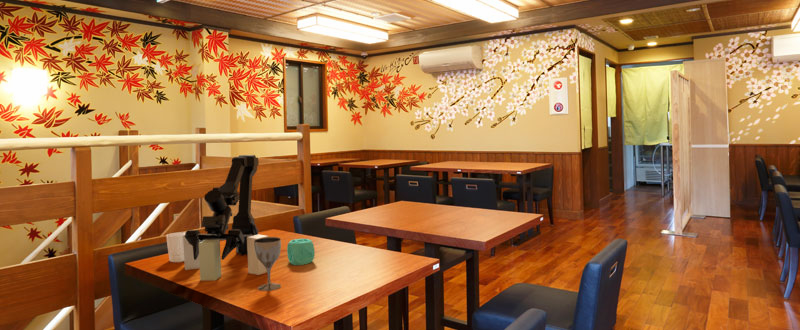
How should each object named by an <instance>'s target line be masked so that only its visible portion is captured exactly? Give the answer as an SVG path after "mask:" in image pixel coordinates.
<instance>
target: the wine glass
mask: <svg viewBox="0 0 800 330" xmlns="http://www.w3.org/2000/svg"><path fill="white" fill-rule="evenodd" d="M281 239H282V238H281V237H277V236H268V237H264V238H259V239H256V240H254V247H255V253H256V256H257V259H258V260H259V261H260V262H261V263H262V264H263V265H264V266H265V268H266V270H267V272H266V275H267V283H263V284H261V285H259V286H257V290H258V291H263V292H269V291H275V290H278V289H280V288H282V285H281V284H279V283H273V282H272V281H271V271H272V268H273V266H274V264H275V263H276V261H277V260H278V259H279V257H280V255H281V250H282V249H281V248H282V240H281Z"/></svg>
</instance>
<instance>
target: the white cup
mask: <svg viewBox="0 0 800 330" xmlns="http://www.w3.org/2000/svg"><path fill="white" fill-rule="evenodd" d="M183 232H184V231H181V232H180V231H178V232H171V233H169V234H168V233H167V234H166V237H165V238H166V244H167V253H168V260H169V262H170V263H181V262H184V243H183Z"/></svg>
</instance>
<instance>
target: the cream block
mask: <svg viewBox="0 0 800 330" xmlns="http://www.w3.org/2000/svg"><path fill="white" fill-rule="evenodd" d="M264 237H269V235H267V234H266V235H264V234H259V233H258V235H254V236H250V237H247V252H248V254H247V272H248V274H251V275H257V276H259V275H263V274H267V270H266V268H265V266H264V265H263V264H262V263H261V262H260V261H259V260H258V259H257V256H256V253H255V247H254V240H256V239H259V238H264Z"/></svg>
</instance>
